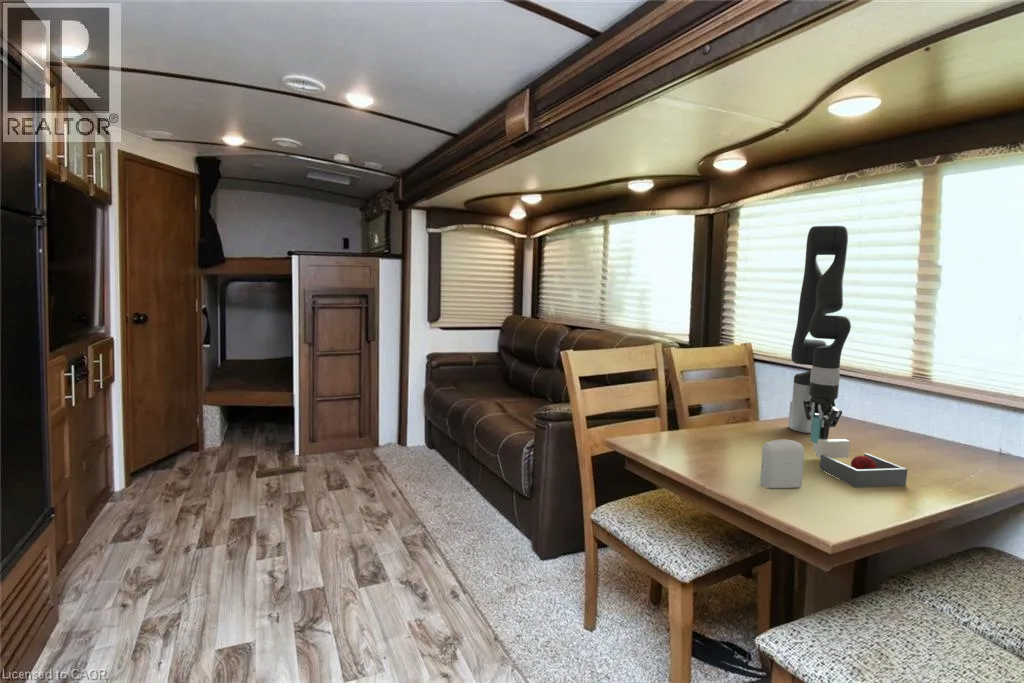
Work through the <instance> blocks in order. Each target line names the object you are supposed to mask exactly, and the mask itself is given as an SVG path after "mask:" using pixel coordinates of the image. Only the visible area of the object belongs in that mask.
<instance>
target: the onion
mask: <svg viewBox="0 0 1024 683" xmlns="http://www.w3.org/2000/svg"><path fill="white" fill-rule="evenodd" d="M850 466H851V467H853V468H855V469H877V465H876V463H875V462H874V461H873V460H872V459H871V458H869V457H867V456H864V455H857V456H854V458H852V460H851V462H850Z"/></svg>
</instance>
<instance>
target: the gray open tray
mask: <svg viewBox="0 0 1024 683" xmlns="http://www.w3.org/2000/svg"><path fill="white" fill-rule="evenodd" d="M863 456H867V457H869V458H871V459H872V460H873V461H874V462H875V463H876V465H877V469H855V468H853V467H851V465H848V464H847V463H844V462H842V461H840V460H837V459H836V458H830V457H828V456H826V455H821V457H820V458H819V459H820V460H819V469H821V470H822V471H825V472H827V473H829V474H831V475H833V476H835V477H837V478H839V479H840V480H839V479H838V480H839V481H841V480H842V481H841V482H843V481H844V482H843V483H845V482H846V483H845V484H847V483H848V484H847V485H849V484H850V486H851V485H852V486H851V487H853V486H854V487H853V488H855V487H859V488H878V487H879V488H880V487H883V488H884V487H902V486H904V487H905V486H906V485H907V478H908V477H907V476H908V468H906V467H903V466H901V465H898V464H895V463H893V462H891V461H888V460H885V459H883V458H881V457H877V456H875V455H873V454H870V453H867V452H866V453H865V452H864V453H863ZM822 471H821V472H822ZM829 474H828V475H829ZM831 475H830V476H831ZM833 476H832V477H833ZM835 477H834V478H835ZM837 478H836V479H837Z"/></svg>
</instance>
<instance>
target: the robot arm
mask: <svg viewBox="0 0 1024 683" xmlns="http://www.w3.org/2000/svg"><path fill="white" fill-rule="evenodd" d="M848 245H849V232H848V229H847V228H846V226H843V225H814V226H812V227H811V228H809V230H808V234H807V238H806V248H805V262H804V273H803V278H802V284H801V290H800V291H801V292H800V294H799V295H800V297H799V304H798V311H797V313H798V314H797V322H796V329H795V331H794V332H795V334H794V337H793V342H792V346H791V354H790V356H791V361H792V362H793V364H796V365H797V364H798V365H801V366H802V365H805V366H812V367H811V369H809V370H807V371H803V372H800V373H796V374H795V375H794V377H793V385H792V386H793V387H792V399H791V400H792V401H790V402H789V412H788V413H789V415H788V425H787V426H788V427H789V429H790V430H791V431H792V430H793V431H796V432H798V433H799V432H800V433H805V434H806V433H807V434H811V428H812V418H813V417H819V419H820V420H821V428H820V439H822V440H823V439H829V433H830V428H835V427H837V426H836V425H837V424H838V422H839V421H840V419H841V416H842V415H843V411H842V410H841V409H838V408H836V404H835V400H837V399H838V396H839V388H840V379H841V378H840V375H841V373H840V369H841V368H840V365H841V356H842V351H843V348H844V345H845V343H846V341H847V339H848V336H849V335H850V332H851V328H852V324H851V320H850V318H848V317H847V316H844V315H828V314H833V313H838V312H839V311H841V310H842V308H843V306H844V294H843V293H844V290H843V288H844V287H843V286H844V284H843V283H844V275H845V268H846V261H847V252H848ZM818 256H834V259H833V261H832V263H831V264H830V266H829V267H828V268H827V270H825V272H824V273H823V272H822V271H821V268H820V266H819V264H818V260H817V257H818ZM809 334H810V336H811V337H813V338H814V339H810V338H809V339H807V337H808V335H809ZM825 340H833V341H832V343H830V344H828V345H827V342H826V341H825ZM825 420H827V422H826V423H825Z"/></svg>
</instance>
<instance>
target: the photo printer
mask: <svg viewBox="0 0 1024 683" xmlns="http://www.w3.org/2000/svg"><path fill="white" fill-rule="evenodd" d="M804 456H805V448H804V446H803V443H800V442H798V441H796V440H792V439H784V438H783V439H782V438H781V439H774V440H770V441H767V442H765V443H764V444H763V445H762V450H761V462H760V464H761V465H760V479H759V480H760V481H759V482H760V486H762V485H763V486H765V487H769V488H768V489H789V488H790V489H792V488H795V489H797V488H802V482H803V472H804V458H805V457H804ZM763 486H762V487H763ZM765 487H764V488H765Z"/></svg>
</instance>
